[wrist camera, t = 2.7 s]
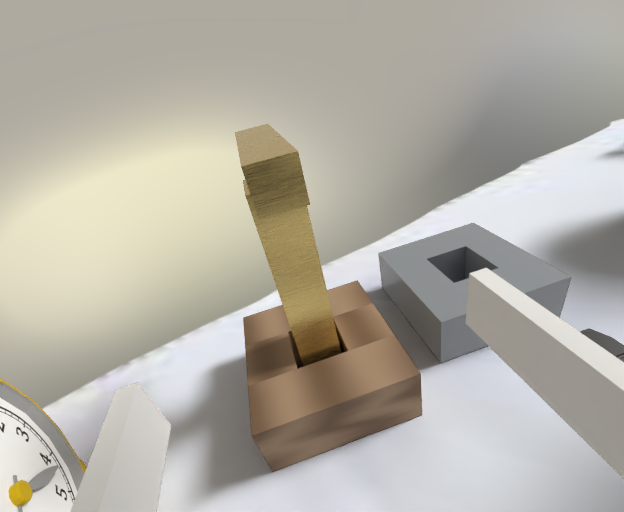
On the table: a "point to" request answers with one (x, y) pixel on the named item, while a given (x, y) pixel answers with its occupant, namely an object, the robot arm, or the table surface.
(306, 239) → the t key
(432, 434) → the table surface
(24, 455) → the alarm clock
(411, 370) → the block
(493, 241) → the block
